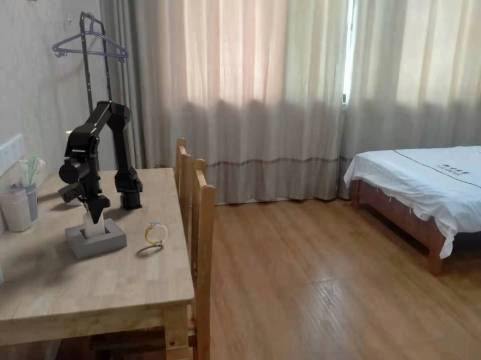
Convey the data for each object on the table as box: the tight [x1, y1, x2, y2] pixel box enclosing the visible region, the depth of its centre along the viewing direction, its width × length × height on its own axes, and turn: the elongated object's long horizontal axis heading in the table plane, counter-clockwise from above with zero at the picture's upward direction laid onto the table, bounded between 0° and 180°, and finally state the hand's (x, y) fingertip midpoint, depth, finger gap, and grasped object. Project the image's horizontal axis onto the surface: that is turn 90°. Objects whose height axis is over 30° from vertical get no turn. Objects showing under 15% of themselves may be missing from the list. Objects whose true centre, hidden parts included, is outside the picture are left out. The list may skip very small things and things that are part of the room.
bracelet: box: [144, 220, 169, 247], centre depth 120 cm, size 7×3×8 cm, turn 103°
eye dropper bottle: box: [82, 211, 105, 239], centre depth 120 cm, size 4×6×12 cm
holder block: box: [64, 217, 128, 260], centre depth 121 cm, size 14×14×4 cm
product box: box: [65, 198, 84, 206], centre depth 153 cm, size 6×6×7 cm
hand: (93, 221), depth 120 cm, fingers closed on eye dropper bottle, 3 cm apart
